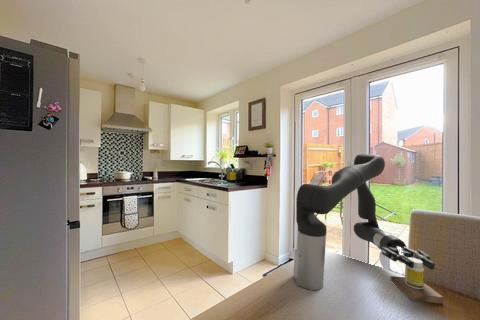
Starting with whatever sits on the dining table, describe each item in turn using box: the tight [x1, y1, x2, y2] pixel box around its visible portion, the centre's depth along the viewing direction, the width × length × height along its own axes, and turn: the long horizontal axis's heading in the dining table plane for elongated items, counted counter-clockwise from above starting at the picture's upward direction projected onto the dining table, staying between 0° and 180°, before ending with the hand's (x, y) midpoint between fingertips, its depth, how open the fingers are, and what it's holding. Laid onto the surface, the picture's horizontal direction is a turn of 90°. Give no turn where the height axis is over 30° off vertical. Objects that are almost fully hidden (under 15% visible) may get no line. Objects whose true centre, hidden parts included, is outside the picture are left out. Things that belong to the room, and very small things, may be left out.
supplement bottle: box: [404, 257, 425, 289], centre depth 70 cm, size 5×5×8 cm
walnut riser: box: [390, 275, 444, 304], centre depth 70 cm, size 9×10×2 cm
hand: (422, 265), depth 67 cm, fingers open, 5 cm apart
